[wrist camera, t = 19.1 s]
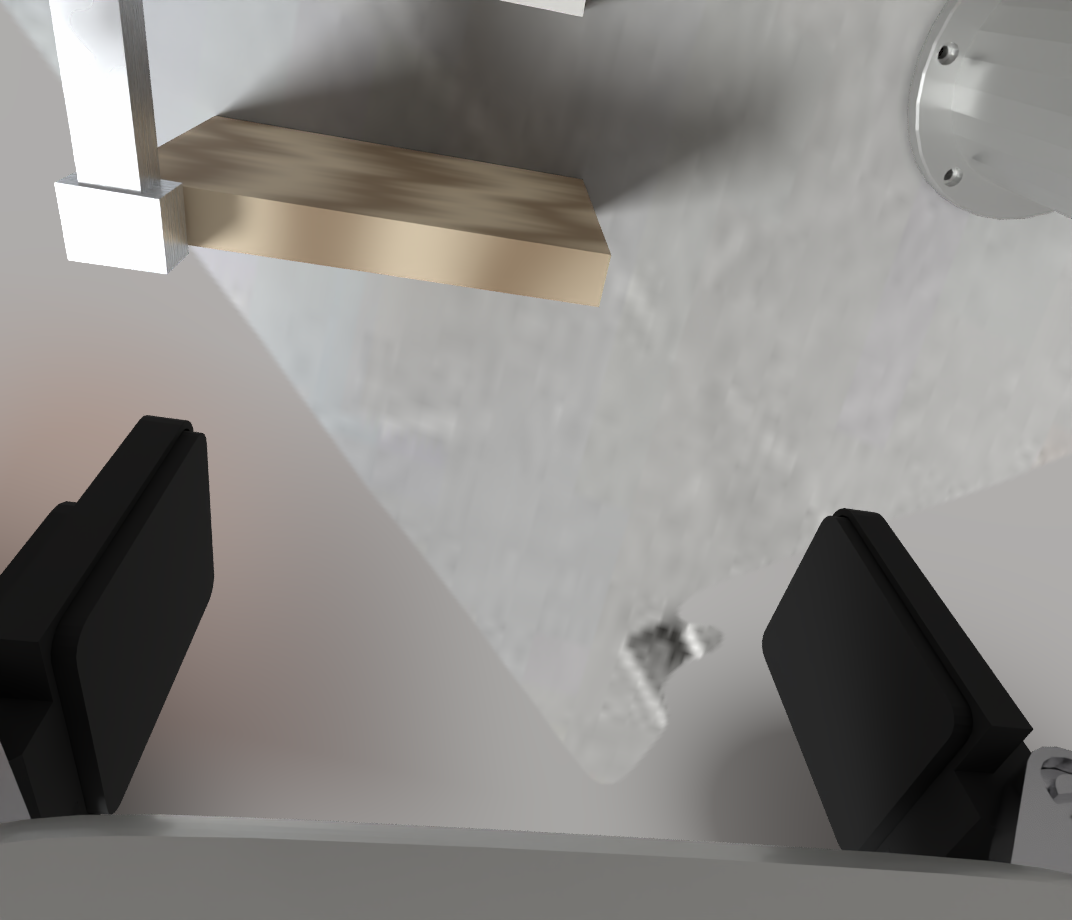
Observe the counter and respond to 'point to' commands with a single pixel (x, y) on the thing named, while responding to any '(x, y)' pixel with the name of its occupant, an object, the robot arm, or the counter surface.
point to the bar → (114, 142)
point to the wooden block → (387, 210)
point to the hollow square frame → (555, 5)
